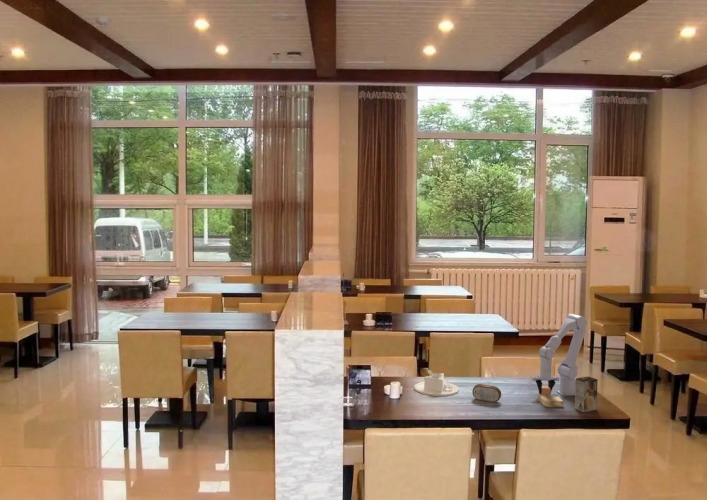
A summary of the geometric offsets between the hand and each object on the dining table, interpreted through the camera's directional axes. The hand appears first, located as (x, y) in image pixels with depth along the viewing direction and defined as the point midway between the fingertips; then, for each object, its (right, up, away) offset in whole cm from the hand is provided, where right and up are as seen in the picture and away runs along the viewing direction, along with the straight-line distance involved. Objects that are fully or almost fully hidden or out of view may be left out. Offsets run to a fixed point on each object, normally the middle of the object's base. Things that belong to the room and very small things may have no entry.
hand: (544, 393), depth 351 cm
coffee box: (+15, -4, -20) cm, 25 cm away
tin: (-34, -2, -9) cm, 35 cm away
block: (0, -1, 0) cm, 1 cm away
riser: (-1, -3, -12) cm, 12 cm away
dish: (-58, 0, +10) cm, 58 cm away
